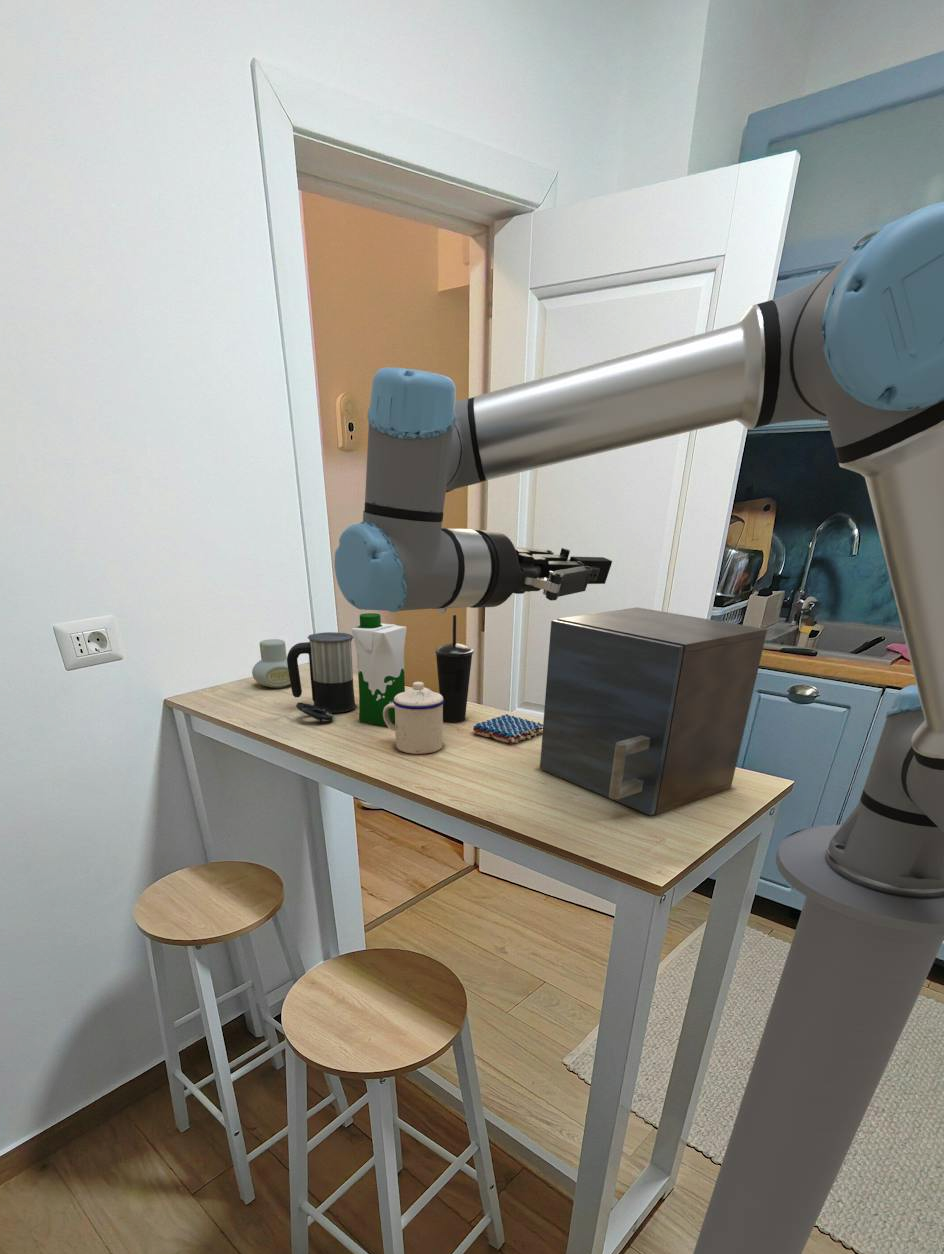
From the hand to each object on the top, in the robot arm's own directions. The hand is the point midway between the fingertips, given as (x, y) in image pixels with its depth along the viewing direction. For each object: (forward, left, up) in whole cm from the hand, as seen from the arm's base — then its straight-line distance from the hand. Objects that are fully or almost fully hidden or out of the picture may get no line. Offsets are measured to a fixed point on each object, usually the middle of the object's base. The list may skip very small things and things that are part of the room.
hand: (604, 570), depth 89 cm
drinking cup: (+48, -12, -33) cm, 59 cm away
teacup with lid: (+39, +4, -33) cm, 51 cm away
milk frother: (+67, +7, -33) cm, 75 cm away
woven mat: (+34, -15, -33) cm, 49 cm away
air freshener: (+95, +6, -33) cm, 100 cm away
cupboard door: (+4, -4, -32) cm, 33 cm away
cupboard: (+4, -17, -32) cm, 37 cm away
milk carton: (+56, 0, -33) cm, 64 cm away
